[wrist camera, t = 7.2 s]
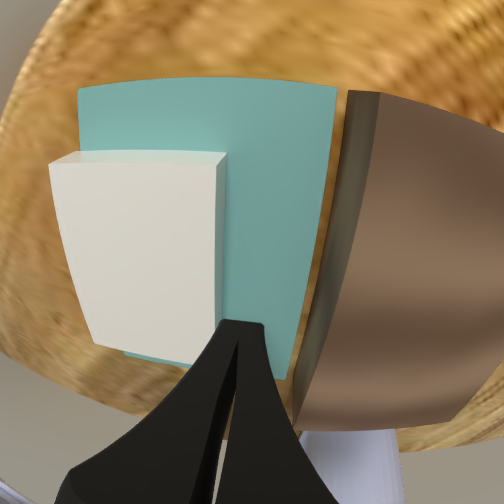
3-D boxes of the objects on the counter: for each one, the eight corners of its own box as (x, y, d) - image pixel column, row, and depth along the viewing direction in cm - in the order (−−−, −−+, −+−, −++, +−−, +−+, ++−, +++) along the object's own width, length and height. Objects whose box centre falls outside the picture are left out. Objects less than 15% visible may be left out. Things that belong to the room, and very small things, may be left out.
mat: (285, 374, 18) (285, 379, 18) (126, 350, 19) (124, 354, 18) (335, 87, 10) (337, 87, 9) (82, 88, 10) (77, 88, 10)
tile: (94, 343, 15) (108, 319, 17) (215, 368, 15) (222, 340, 16) (48, 164, 10) (75, 151, 12) (216, 166, 9) (227, 152, 11)
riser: (435, 375, 17) (450, 421, 14) (293, 375, 18) (292, 430, 15) (535, 152, 9) (587, 180, 6) (348, 89, 10) (379, 92, 6)
